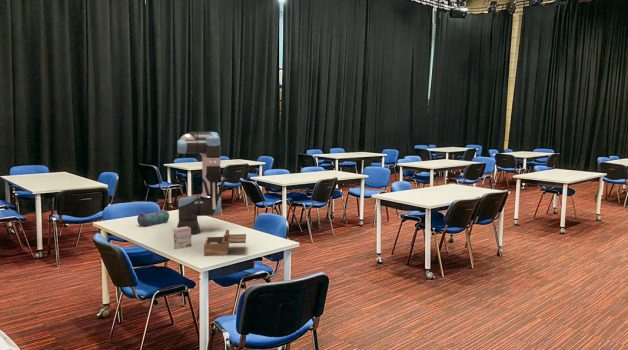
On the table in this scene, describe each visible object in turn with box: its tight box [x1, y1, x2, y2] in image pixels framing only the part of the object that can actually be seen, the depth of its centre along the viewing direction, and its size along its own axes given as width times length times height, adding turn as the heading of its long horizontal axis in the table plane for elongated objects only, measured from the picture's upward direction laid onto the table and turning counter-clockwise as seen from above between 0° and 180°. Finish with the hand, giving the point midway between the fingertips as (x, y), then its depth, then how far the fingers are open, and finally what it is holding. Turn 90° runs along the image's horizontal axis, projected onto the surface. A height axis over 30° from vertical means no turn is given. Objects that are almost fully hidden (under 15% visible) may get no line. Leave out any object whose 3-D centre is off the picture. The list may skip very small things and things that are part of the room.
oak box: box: [203, 236, 230, 257], centre depth 260 cm, size 16×12×7 cm
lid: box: [222, 229, 247, 244], centre depth 260 cm, size 17×12×4 cm
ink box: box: [172, 227, 192, 250], centre depth 269 cm, size 9×5×12 cm, turn 131°
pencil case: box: [137, 208, 170, 227], centre depth 330 cm, size 21×9×10 cm, turn 147°
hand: (214, 208), depth 257 cm, fingers closed
